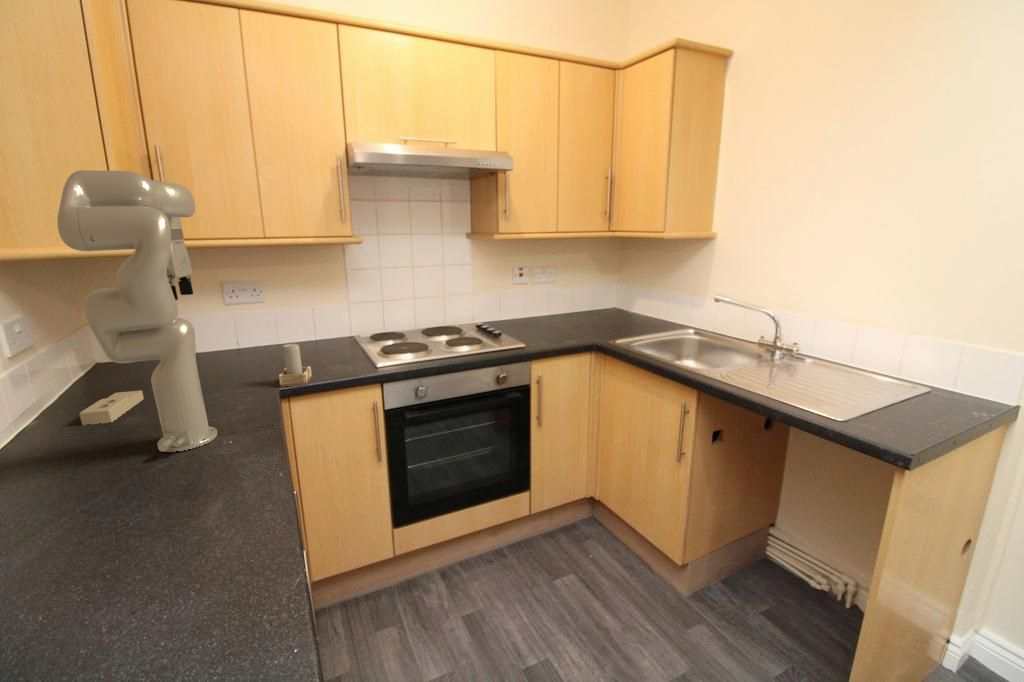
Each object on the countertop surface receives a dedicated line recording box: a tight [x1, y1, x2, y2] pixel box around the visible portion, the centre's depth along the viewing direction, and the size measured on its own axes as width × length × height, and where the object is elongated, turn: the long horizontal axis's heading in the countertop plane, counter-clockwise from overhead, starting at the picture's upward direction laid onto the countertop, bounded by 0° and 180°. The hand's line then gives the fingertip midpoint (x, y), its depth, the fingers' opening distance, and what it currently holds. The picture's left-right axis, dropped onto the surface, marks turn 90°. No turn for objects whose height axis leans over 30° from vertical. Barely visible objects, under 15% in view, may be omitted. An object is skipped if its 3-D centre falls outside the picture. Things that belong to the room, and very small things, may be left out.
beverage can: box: [282, 343, 303, 375], centre depth 160 cm, size 5×5×12 cm
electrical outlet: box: [79, 390, 145, 426], centre depth 141 cm, size 7×4×18 cm
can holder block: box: [278, 365, 313, 386], centre depth 162 cm, size 8×8×4 cm
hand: (179, 297), depth 138 cm, fingers open, 9 cm apart
